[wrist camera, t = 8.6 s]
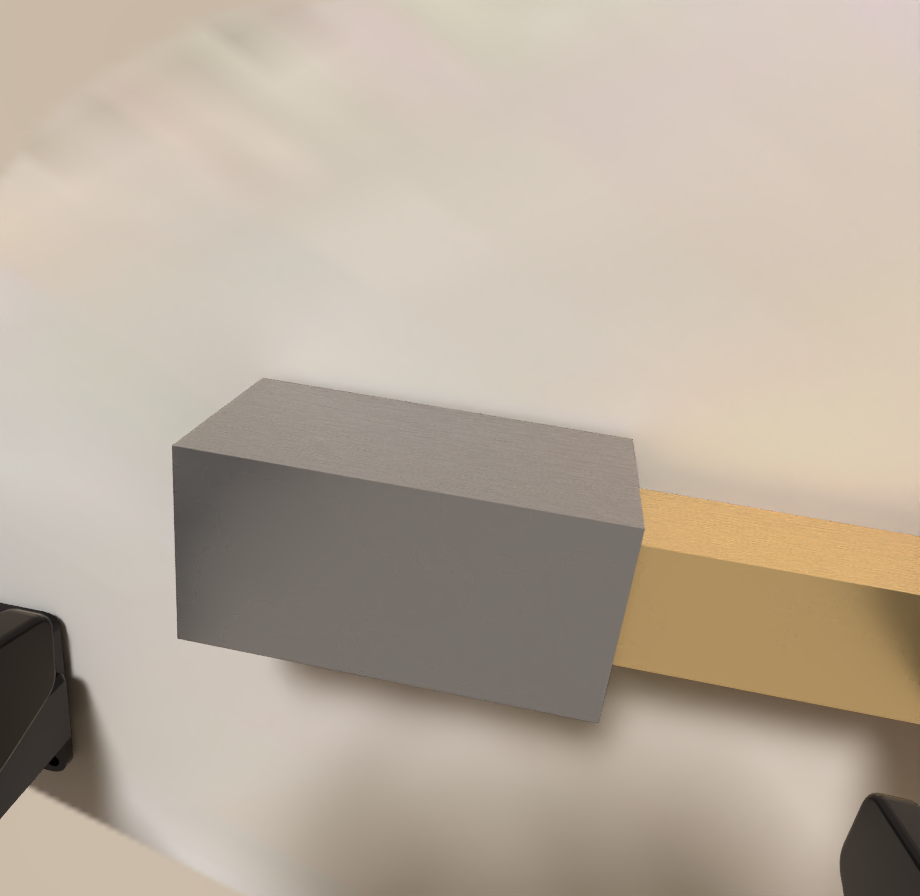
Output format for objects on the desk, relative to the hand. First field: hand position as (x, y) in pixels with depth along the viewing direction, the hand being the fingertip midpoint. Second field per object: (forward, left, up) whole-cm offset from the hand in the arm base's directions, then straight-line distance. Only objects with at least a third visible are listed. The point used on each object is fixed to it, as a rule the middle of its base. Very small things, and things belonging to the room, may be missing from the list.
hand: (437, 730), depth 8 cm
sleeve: (-2, -3, -13) cm, 13 cm away
